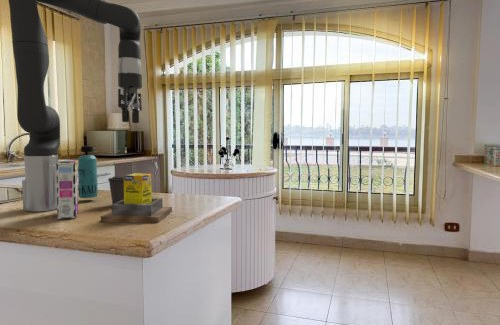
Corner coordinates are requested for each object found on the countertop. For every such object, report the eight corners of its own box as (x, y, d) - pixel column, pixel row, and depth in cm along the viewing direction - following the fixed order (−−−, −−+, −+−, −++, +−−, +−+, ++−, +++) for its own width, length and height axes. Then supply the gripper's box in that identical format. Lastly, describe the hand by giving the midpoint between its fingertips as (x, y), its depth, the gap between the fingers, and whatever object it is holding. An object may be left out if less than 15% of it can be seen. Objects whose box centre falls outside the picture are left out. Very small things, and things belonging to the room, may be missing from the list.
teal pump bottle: (85, 198, 129) (83, 145, 128) (102, 199, 128) (100, 145, 127) (74, 202, 123) (72, 146, 121) (91, 202, 122) (90, 146, 120)
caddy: (100, 221, 95) (100, 205, 94) (121, 210, 109) (121, 196, 108) (158, 222, 94) (158, 206, 94) (171, 211, 108) (171, 197, 108)
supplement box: (143, 213, 98) (142, 175, 97) (123, 212, 99) (122, 175, 98) (152, 209, 104) (151, 173, 103) (134, 208, 105) (133, 172, 104)
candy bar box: (77, 218, 98) (75, 161, 97) (57, 220, 96) (55, 161, 95) (79, 211, 108) (77, 158, 107) (61, 212, 106) (59, 159, 105)
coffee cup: (133, 202, 123) (133, 174, 122) (133, 206, 115) (132, 177, 115) (109, 203, 120) (108, 175, 120) (107, 208, 113) (106, 177, 112)
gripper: (127, 77, 122) (128, 123, 123) (109, 69, 107) (110, 121, 109) (148, 77, 121) (149, 123, 123) (133, 69, 107) (134, 121, 108)
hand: (130, 122), depth 116 cm, fingers open, 8 cm apart
